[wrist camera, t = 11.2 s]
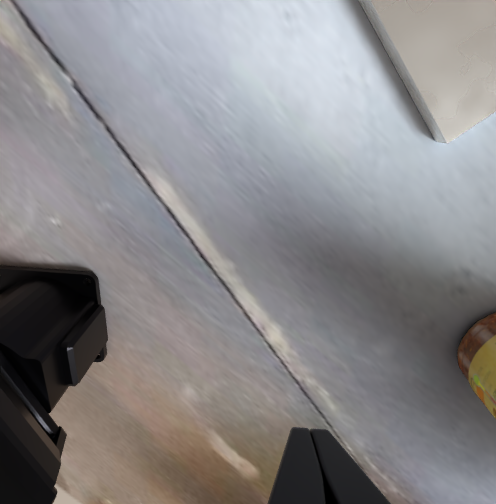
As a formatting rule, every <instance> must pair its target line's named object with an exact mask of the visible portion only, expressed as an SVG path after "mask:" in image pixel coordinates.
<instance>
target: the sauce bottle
mask: <svg viewBox="0 0 496 504" xmlns="http://www.w3.org/2000/svg"><path fill="white" fill-rule="evenodd" d="M457 354H458V356H457V357H458V364H459V367H460V369H461V370H462V372H463V374H464V375H465V377H466V378H467V379H468V381H469V383H470V385H471V387H472V389H473V391H474V392H475V393H476V395H477V396H478V397H479V398H480V400H481V401H482V402H483V403H484V405H485V406H486V407H487V408H488V410H489V411H490V412H491V414H492V415H493V416H494V417H495V419H496V312H495V313H493V314H491V315H488V316H487V317H485V318H483V319H481V320H479V321H477V322H476V323H475V324H474V325H473V326H472V327H471V328H470V329H469V330H468V332H467V333H466V335H465V336H464V337H463V338H462V341H461V342H460V344H459V347H458V352H457Z"/></svg>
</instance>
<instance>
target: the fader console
mask: <svg viewBox="0 0 496 504" xmlns="http://www.w3.org/2000/svg"><path fill="white" fill-rule="evenodd" d="M359 2H360V4H361V6H362V8H363V9H364V11H365V13H366V15H367V17H368V19H369V20H370V22H371V24H372V26H373V28H374V30H375V31H376V33H377V35H378V37H379V39H380V41H381V42H382V44H383V46H384V48H385V50H386V52H387V53H388V55H389V57H390V59H391V61H392V63H393V64H394V66H395V68H396V70H397V72H398V74H399V75H400V77H401V79H402V81H403V83H404V84H405V86H406V88H407V90H408V92H409V94H410V95H411V97H412V99H413V101H414V103H415V105H416V106H417V108H418V110H419V112H420V114H421V116H422V117H423V119H424V121H425V123H426V125H427V127H428V128H429V130H430V132H431V134H432V136H433V138H434V139H435V141H436V142H440V143H446V144H448V143H449V142H451V141H452V140H454V139H455V138H457V137H458V136H460V135H461V134H463V133H464V132H466V131H467V130H469V129H470V128H472V127H473V126H475V125H476V124H478V123H479V122H481V121H482V120H484V119H485V118H487V117H488V116H490V115H491V114H493V113H494V112H496V0H359Z"/></svg>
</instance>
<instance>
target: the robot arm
mask: <svg viewBox="0 0 496 504" xmlns="http://www.w3.org/2000/svg"><path fill="white" fill-rule="evenodd" d="M86 278H87V279H89V280H91V283H89V282H88V281H87V280H86ZM107 341H108V335H107V326H106V317H105V309H104V307H103V306H102V305H101V298H100V289H99V281H98V277H97V276H96V275H95V274H94V273H92V272H85V271H71V270H57V269H43V268H29V267H15V266H2V265H0V504H53V502H54V500H55V498H56V495H57V489H56V488H55V487H54V485H55V483H56V480H57V476H58V473H59V469H60V466H61V460H60V459H61V455H62V451H63V447H64V443H65V439H66V436H67V434H66V433H65V431H64V430H63V429H62V427H61V426H59V427H58V426H57V424H56V423H55V422H54V420H53V419H52V418H51V416H50V415H49V414H48V413H50V412H51V411H52V410H53V408H54V407H55V405H56V404H57V402H58V401H59V400H60V398H61V397H62V395H63V394H64V392H65V391H66V390H67V388H68V387H69V386H76V385H77V384H78V383H79V382H80V381H81V379H82V378H83V376H84V375H85V373H86V372H87V370H88V369H89V367H90V366H91V365H92V363H93V362H101V361H103V360H104V358H105V357H106V355H107V349H106V342H107ZM98 354H100V355H98ZM268 504H391V503H390V502H389V501H388V500H387V499H386V498H385V496H384V495H383V494H382V493H381V492H380V490H379V489H378V488H377V487H376V486H375V485H374V483H373V482H372V481H371V480H370V479H369V478H368V476H367V475H366V474H365V473H364V472H363V471H362V469H361V468H360V467H359V466H358V465H357V463H356V462H355V461H354V460H353V459H352V458H351V456H350V455H349V454H348V453H347V452H346V451H345V449H344V448H343V447H342V446H341V445H340V444H339V442H338V441H337V440H336V439H335V438H334V436H333V435H332V434H331V433H330V432H329V431H328V430H325V429H311V430H309V429H308V428H299V427H293V428H292V429H291V431H290V434H289V437H288V440H287V443H286V447H285V450H284V453H283V456H282V459H281V462H280V466H279V469H278V472H277V475H276V478H275V482H274V485H273V488H272V491H271V494H270V497H269V501H268Z"/></svg>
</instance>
